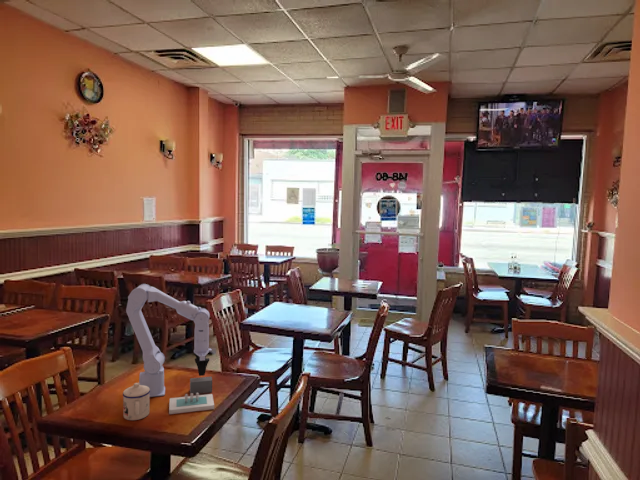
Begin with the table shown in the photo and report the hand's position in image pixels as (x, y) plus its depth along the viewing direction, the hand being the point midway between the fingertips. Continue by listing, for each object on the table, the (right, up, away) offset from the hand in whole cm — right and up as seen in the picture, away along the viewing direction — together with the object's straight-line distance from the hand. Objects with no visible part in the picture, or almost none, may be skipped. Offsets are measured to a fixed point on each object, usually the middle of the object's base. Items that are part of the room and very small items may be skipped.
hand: (201, 371), depth 174 cm
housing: (0, -8, +1) cm, 8 cm away
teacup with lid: (-17, -10, -22) cm, 29 cm away
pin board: (0, -9, -12) cm, 15 cm away
